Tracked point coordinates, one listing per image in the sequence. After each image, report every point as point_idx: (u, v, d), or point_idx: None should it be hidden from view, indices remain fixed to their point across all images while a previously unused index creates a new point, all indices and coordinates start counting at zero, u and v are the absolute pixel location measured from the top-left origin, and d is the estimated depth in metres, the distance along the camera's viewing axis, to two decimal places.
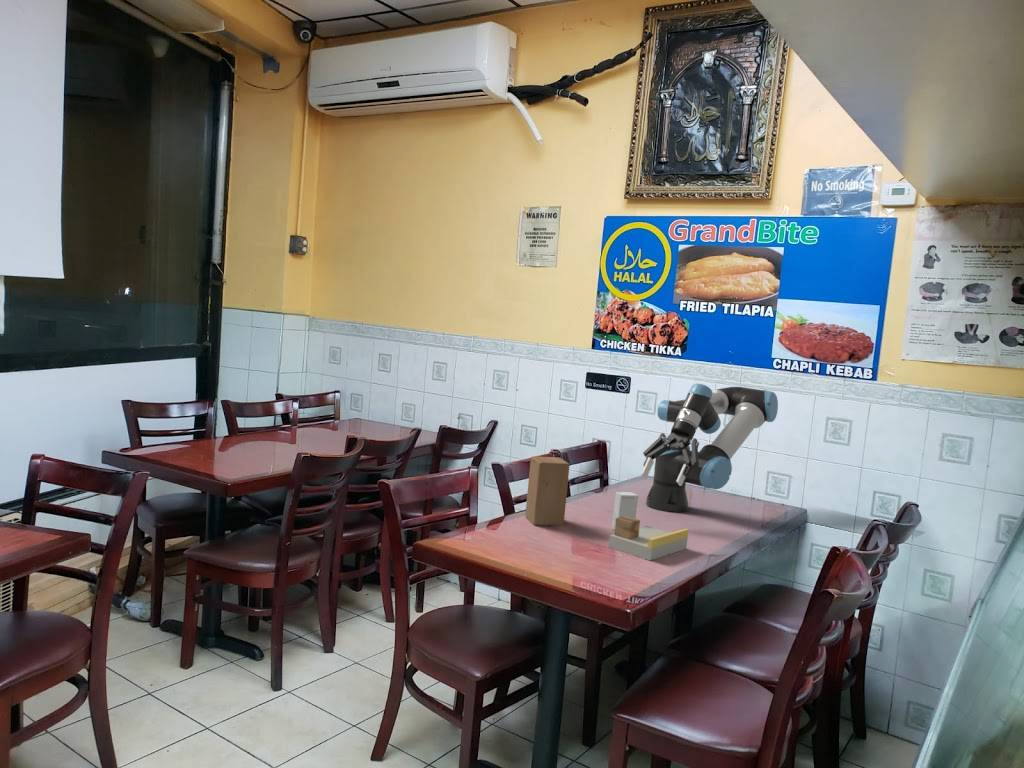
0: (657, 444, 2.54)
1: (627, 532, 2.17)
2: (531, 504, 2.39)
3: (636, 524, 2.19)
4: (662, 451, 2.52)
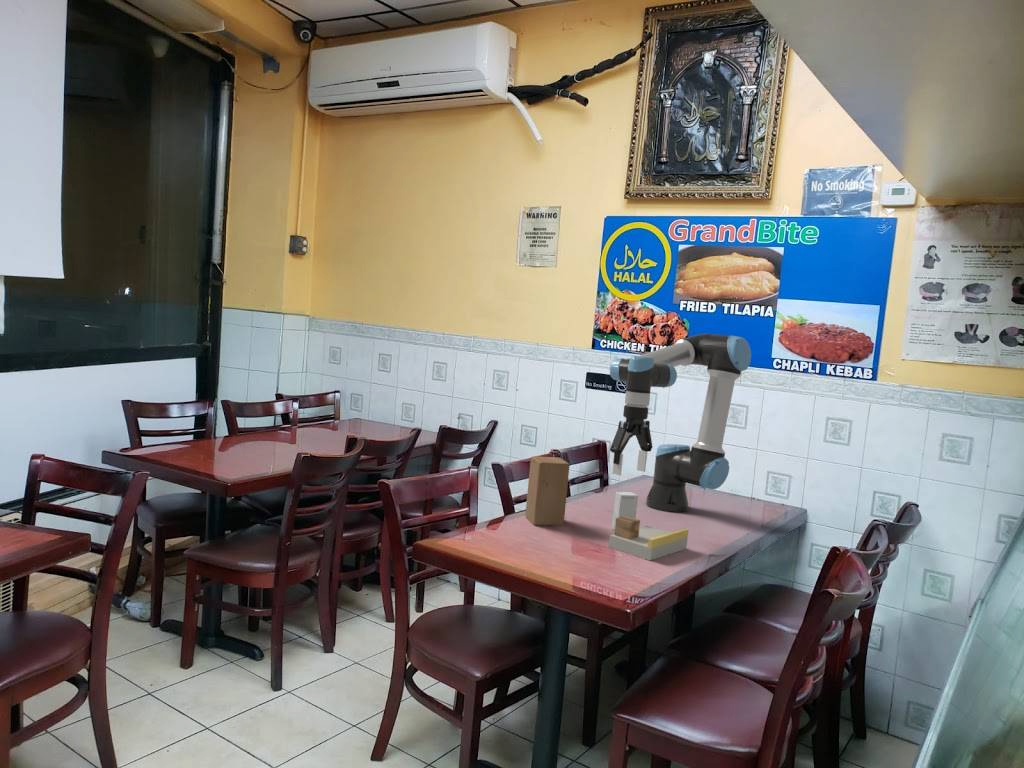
0: None
1: (627, 532, 2.17)
2: (531, 504, 2.39)
3: (636, 524, 2.19)
4: (640, 439, 2.39)
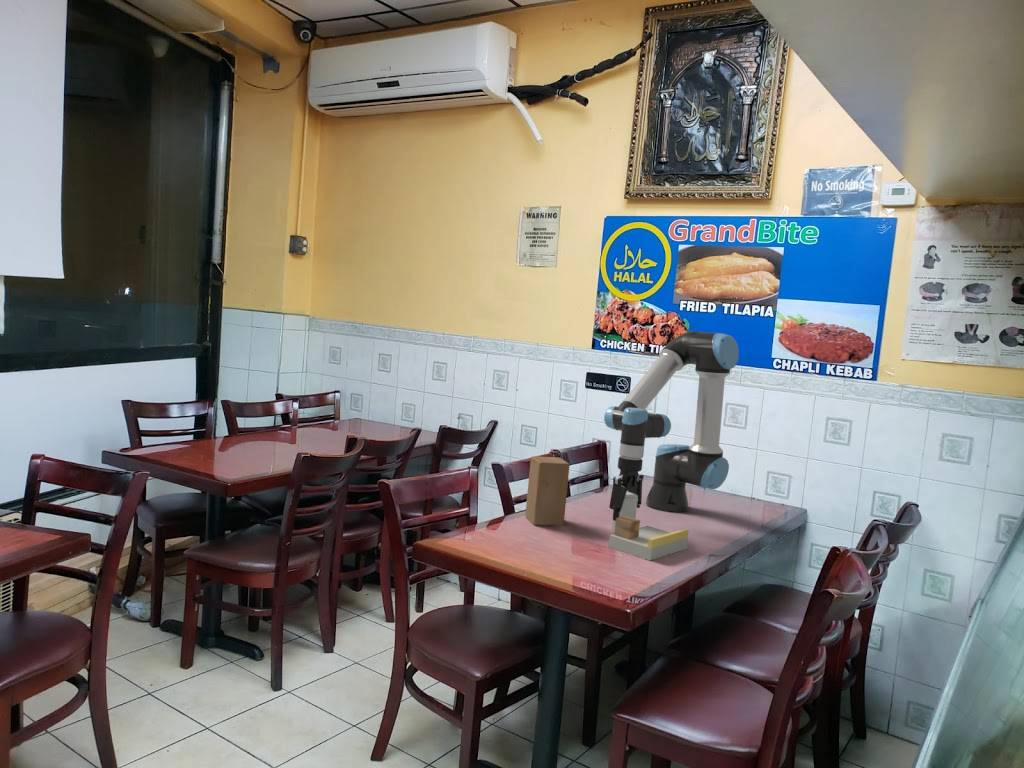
0: None
1: (627, 532, 2.17)
2: (531, 504, 2.39)
3: (636, 524, 2.19)
4: None
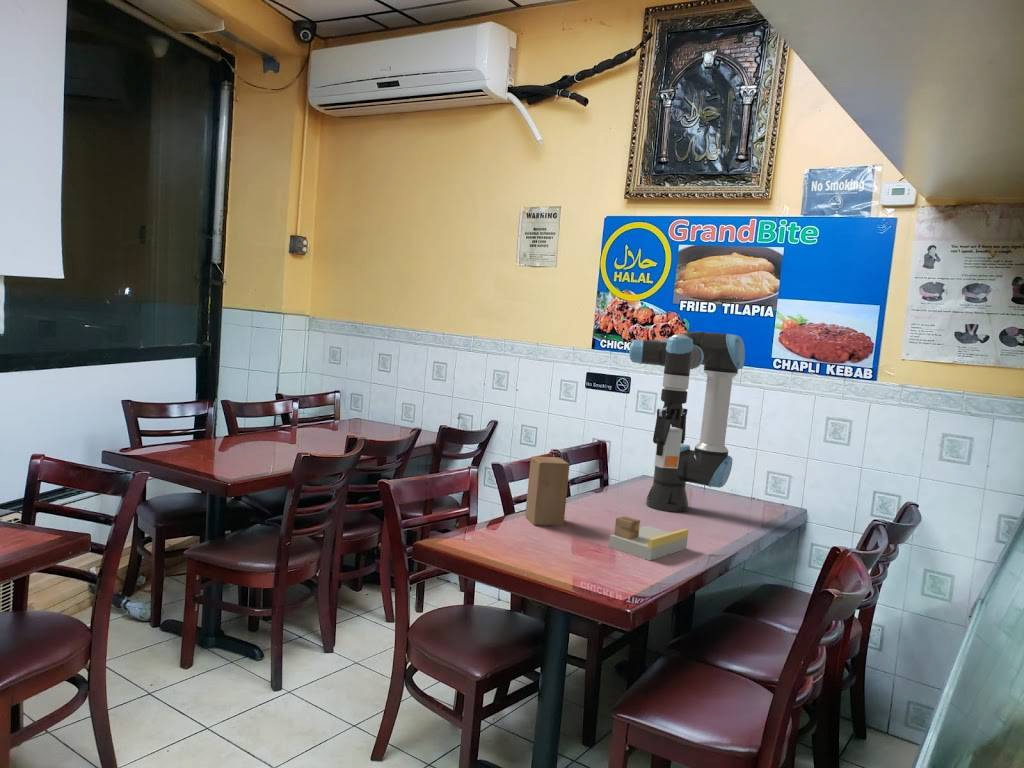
0: None
1: (627, 532, 2.17)
2: (531, 504, 2.39)
3: (636, 524, 2.19)
4: None
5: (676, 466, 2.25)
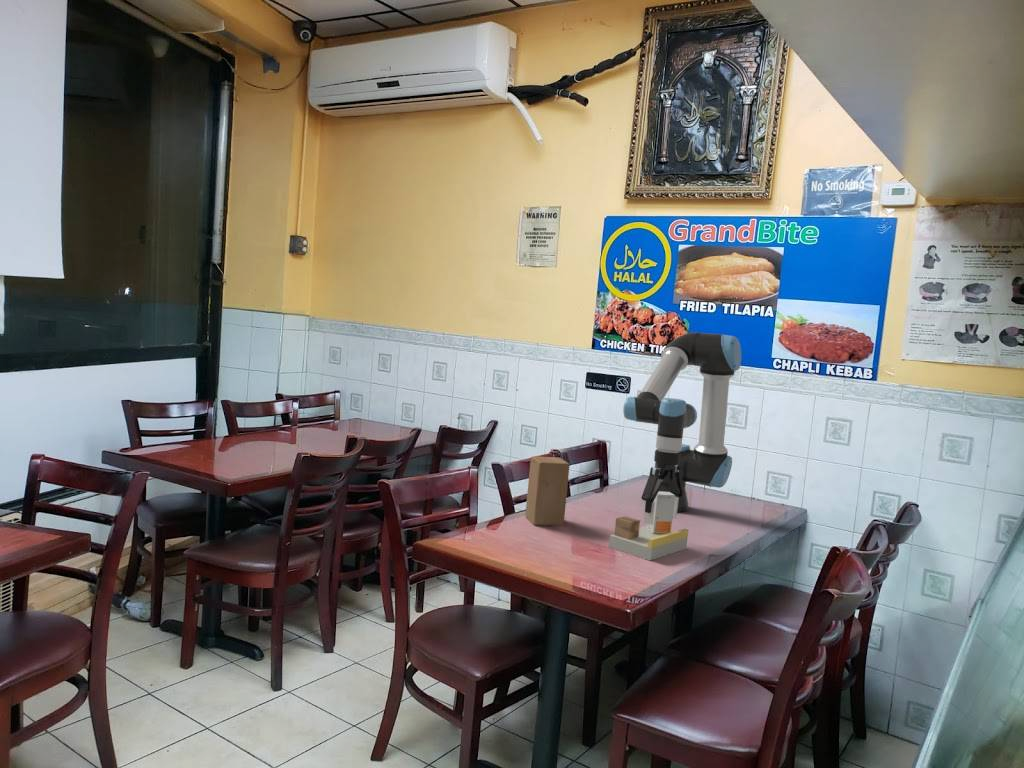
0: None
1: (627, 532, 2.17)
2: (531, 504, 2.39)
3: (636, 524, 2.19)
4: (672, 485, 2.29)
5: (669, 531, 2.26)
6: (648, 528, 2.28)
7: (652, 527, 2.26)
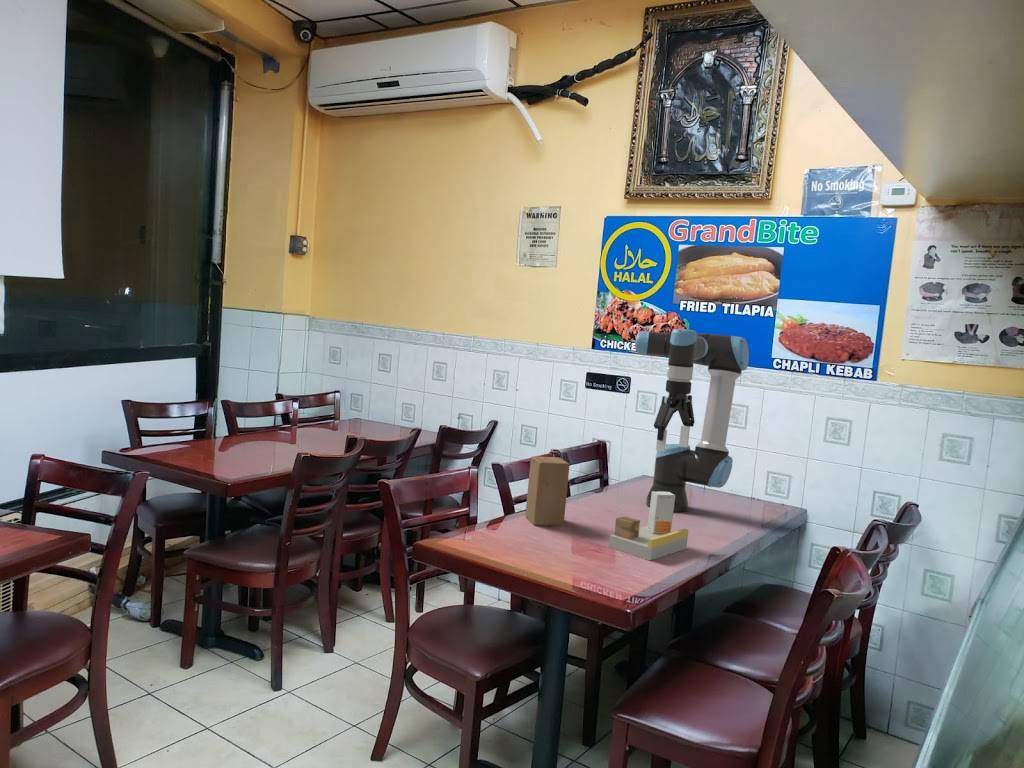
0: None
1: (627, 532, 2.17)
2: (531, 504, 2.39)
3: (636, 524, 2.19)
4: (683, 414, 2.34)
5: (669, 531, 2.26)
6: (648, 528, 2.28)
7: (652, 527, 2.26)
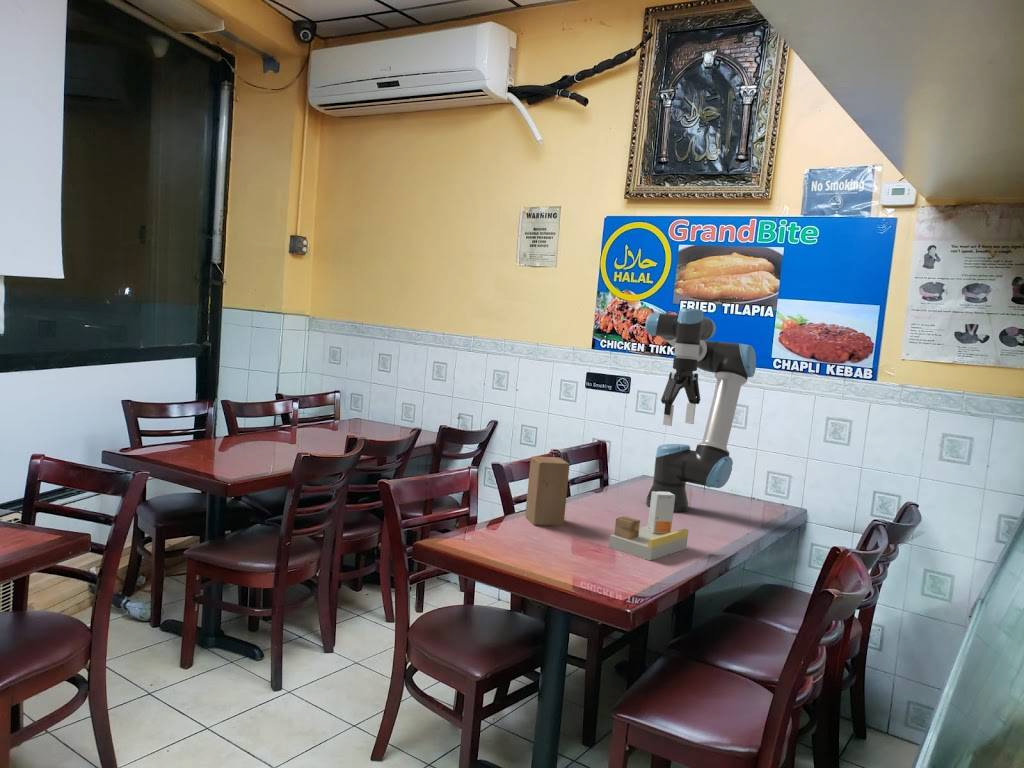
0: None
1: (627, 532, 2.17)
2: (531, 504, 2.39)
3: (636, 524, 2.19)
4: (689, 392, 2.42)
5: (669, 531, 2.26)
6: (648, 528, 2.28)
7: (652, 527, 2.26)
